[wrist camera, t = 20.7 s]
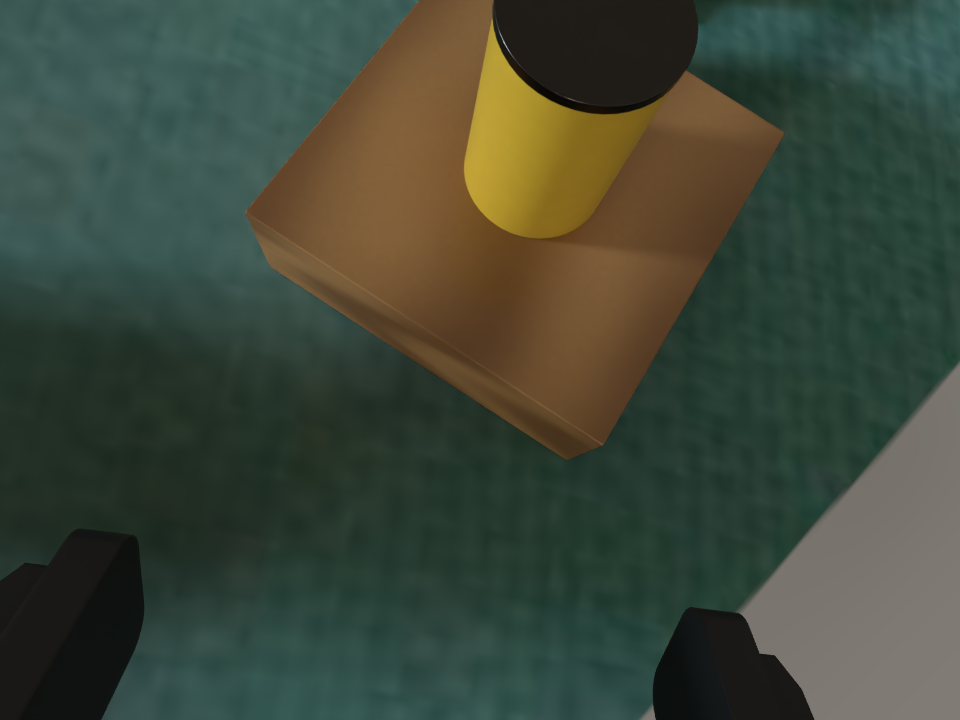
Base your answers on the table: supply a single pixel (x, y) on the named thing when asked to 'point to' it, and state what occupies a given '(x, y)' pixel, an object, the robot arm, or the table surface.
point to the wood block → (504, 234)
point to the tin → (568, 103)
